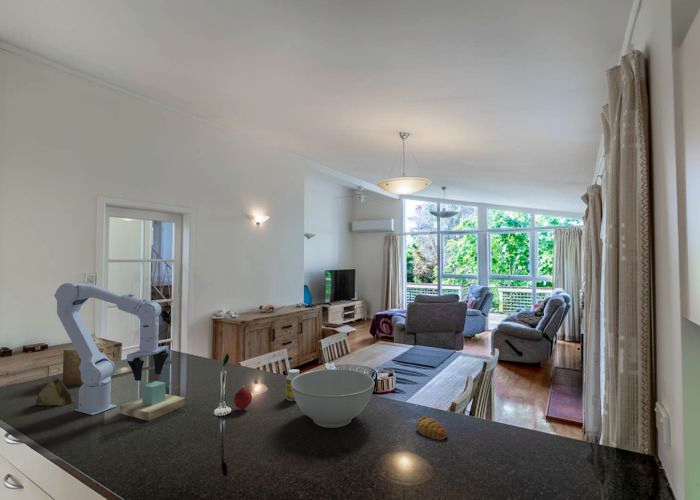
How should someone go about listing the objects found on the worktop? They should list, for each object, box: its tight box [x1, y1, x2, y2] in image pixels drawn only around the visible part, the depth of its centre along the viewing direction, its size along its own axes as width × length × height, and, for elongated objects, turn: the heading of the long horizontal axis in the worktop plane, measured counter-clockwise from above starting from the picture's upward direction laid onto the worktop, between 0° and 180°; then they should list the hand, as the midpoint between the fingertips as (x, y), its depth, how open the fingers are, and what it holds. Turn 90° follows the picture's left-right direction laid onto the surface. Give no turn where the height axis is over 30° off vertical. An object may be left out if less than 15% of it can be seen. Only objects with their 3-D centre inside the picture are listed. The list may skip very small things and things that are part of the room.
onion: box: [233, 385, 253, 411], centre depth 125 cm, size 6×6×8 cm
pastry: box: [415, 415, 448, 441], centre depth 108 cm, size 9×7×4 cm
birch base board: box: [119, 393, 187, 422], centre depth 125 cm, size 14×14×2 cm
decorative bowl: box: [291, 368, 376, 429], centre depth 118 cm, size 27×27×12 cm
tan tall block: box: [61, 332, 108, 386], centre depth 155 cm, size 11×11×19 cm
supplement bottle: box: [285, 368, 300, 402], centre depth 135 cm, size 6×6×10 cm
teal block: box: [141, 380, 167, 405], centre depth 125 cm, size 5×5×6 cm
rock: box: [35, 377, 75, 407], centre depth 130 cm, size 11×9×10 cm
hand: (148, 377), depth 127 cm, fingers open, 7 cm apart
